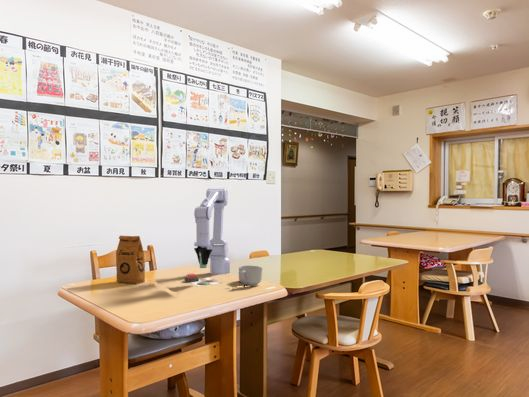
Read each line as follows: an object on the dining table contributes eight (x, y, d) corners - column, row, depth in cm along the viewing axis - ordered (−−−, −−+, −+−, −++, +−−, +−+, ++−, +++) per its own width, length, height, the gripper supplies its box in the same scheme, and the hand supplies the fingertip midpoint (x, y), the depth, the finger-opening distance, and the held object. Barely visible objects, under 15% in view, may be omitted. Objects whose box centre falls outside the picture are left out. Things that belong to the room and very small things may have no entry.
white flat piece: (209, 279, 187) (209, 273, 187) (224, 285, 174) (224, 279, 174) (183, 283, 179) (183, 277, 179) (197, 289, 167) (197, 283, 167)
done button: (193, 277, 180) (193, 273, 180) (195, 278, 178) (195, 274, 178) (187, 278, 179) (187, 274, 179) (189, 279, 176) (189, 275, 176)
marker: (204, 266, 175) (204, 251, 175) (208, 267, 172) (207, 251, 172) (198, 267, 173) (198, 251, 173) (201, 268, 171) (201, 252, 171)
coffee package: (135, 285, 176) (134, 237, 175) (113, 283, 180) (112, 236, 180) (148, 281, 185) (148, 234, 185) (127, 279, 189) (127, 234, 189)
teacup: (248, 281, 184) (248, 264, 184) (267, 283, 177) (267, 266, 177) (229, 286, 172) (229, 268, 172) (248, 290, 166) (248, 271, 166)
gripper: (188, 232, 177) (188, 262, 177) (201, 235, 165) (201, 267, 165) (202, 231, 181) (202, 261, 181) (216, 234, 168) (216, 265, 168)
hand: (203, 264), depth 173 cm, fingers closed on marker, 3 cm apart
